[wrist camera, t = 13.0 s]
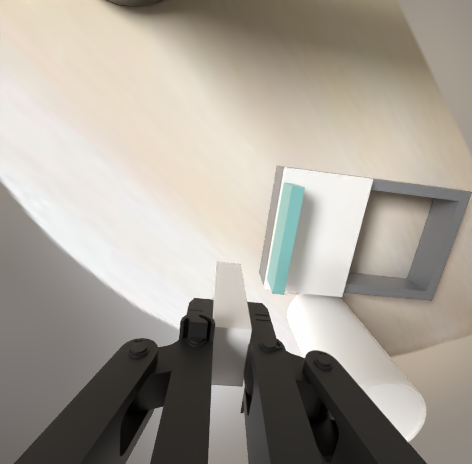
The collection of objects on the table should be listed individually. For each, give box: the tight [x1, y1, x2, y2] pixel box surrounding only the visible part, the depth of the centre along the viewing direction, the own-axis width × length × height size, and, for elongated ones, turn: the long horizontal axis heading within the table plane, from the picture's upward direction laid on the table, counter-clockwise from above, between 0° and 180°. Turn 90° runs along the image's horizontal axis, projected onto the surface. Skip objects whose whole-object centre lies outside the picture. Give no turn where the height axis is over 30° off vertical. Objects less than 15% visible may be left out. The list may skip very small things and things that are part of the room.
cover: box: [264, 167, 373, 297], centre depth 28 cm, size 14×9×4 cm
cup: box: [287, 293, 426, 442], centre depth 30 cm, size 8×8×16 cm
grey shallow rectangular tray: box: [259, 166, 472, 301], centre depth 33 cm, size 14×22×4 cm, turn 83°
